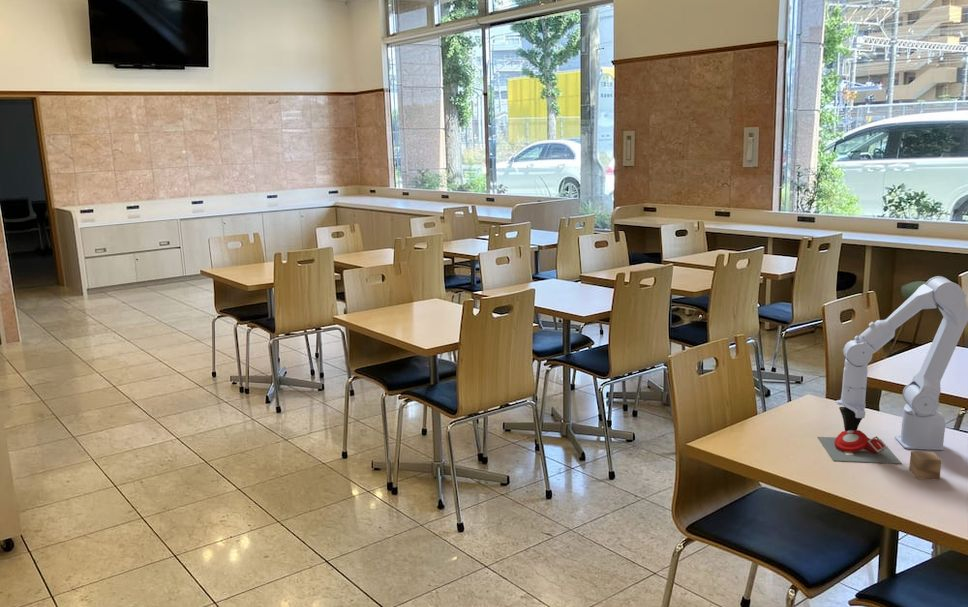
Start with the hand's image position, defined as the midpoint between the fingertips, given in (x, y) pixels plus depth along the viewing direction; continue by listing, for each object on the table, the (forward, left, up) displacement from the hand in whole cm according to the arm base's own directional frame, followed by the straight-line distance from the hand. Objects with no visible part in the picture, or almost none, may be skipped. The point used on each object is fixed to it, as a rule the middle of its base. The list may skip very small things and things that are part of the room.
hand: (850, 434), depth 213 cm
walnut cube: (-11, +21, -2) cm, 24 cm away
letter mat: (0, +7, -1) cm, 7 cm away
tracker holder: (0, +8, -1) cm, 8 cm away
